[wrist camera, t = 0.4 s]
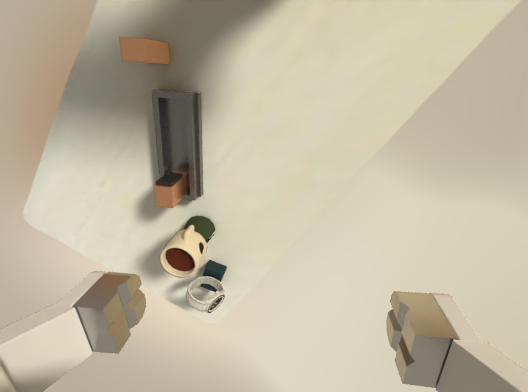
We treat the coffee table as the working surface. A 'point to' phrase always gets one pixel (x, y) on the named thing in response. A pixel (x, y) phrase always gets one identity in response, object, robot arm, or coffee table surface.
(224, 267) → the watch
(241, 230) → the coffee table surface
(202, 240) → the character mug
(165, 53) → the orange block
